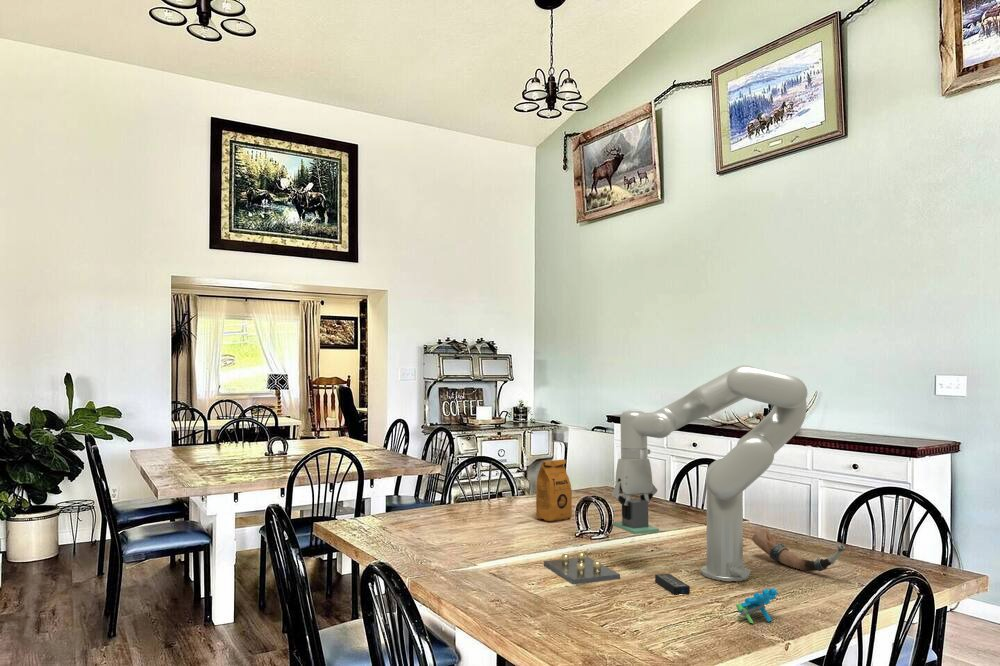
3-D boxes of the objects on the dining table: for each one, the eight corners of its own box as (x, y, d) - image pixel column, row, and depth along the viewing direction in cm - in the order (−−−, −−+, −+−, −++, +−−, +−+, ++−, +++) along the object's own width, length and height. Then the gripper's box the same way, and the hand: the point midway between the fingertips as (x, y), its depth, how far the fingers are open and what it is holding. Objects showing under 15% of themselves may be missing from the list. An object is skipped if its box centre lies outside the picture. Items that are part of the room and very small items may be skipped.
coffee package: (575, 520, 255) (576, 460, 256) (548, 524, 248) (548, 462, 249) (559, 515, 263) (560, 457, 264) (532, 518, 257) (533, 459, 258)
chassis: (620, 578, 185) (620, 564, 185) (573, 584, 180) (573, 569, 180) (587, 560, 202) (587, 548, 202) (544, 565, 197) (544, 552, 197)
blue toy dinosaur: (763, 601, 164) (781, 581, 157) (778, 625, 160) (797, 605, 153) (725, 613, 160) (742, 593, 153) (739, 638, 156) (757, 618, 149)
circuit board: (659, 531, 193) (658, 502, 194) (634, 534, 191) (633, 505, 191) (636, 522, 205) (635, 495, 205) (612, 525, 202) (612, 497, 202)
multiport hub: (669, 582, 184) (669, 573, 184) (690, 595, 173) (690, 586, 174) (654, 583, 183) (654, 574, 183) (674, 596, 172) (674, 587, 172)
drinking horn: (761, 554, 211) (761, 521, 212) (851, 582, 185) (851, 544, 185) (748, 556, 208) (748, 523, 209) (838, 585, 182) (837, 546, 183)
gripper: (651, 451, 205) (652, 513, 204) (601, 454, 199) (602, 517, 198) (666, 454, 198) (667, 518, 197) (615, 457, 192) (616, 523, 191)
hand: (635, 517), depth 198 cm, fingers closed on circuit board, 5 cm apart
